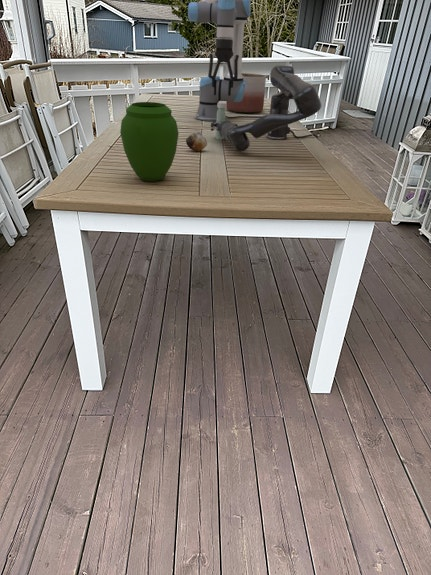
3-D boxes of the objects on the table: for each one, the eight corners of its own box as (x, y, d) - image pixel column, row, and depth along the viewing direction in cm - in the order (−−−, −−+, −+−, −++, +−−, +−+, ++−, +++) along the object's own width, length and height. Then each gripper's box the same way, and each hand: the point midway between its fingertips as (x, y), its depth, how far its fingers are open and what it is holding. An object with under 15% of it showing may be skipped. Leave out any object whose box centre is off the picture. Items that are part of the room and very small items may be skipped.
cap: (227, 107, 198) (227, 103, 197) (220, 108, 196) (220, 103, 195) (222, 106, 201) (222, 102, 200) (215, 106, 199) (215, 102, 198)
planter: (267, 114, 272) (271, 77, 261) (229, 113, 268) (232, 76, 257) (257, 108, 294) (260, 73, 282) (223, 107, 289) (224, 72, 278)
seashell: (206, 149, 186) (206, 130, 181) (207, 152, 181) (208, 133, 177) (185, 148, 184) (185, 130, 180) (186, 152, 180) (186, 133, 175)
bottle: (225, 138, 206) (227, 104, 197) (219, 139, 204) (220, 104, 195) (220, 137, 209) (222, 103, 200) (214, 138, 206) (215, 103, 198)
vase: (131, 189, 135) (125, 110, 122) (118, 172, 150) (112, 100, 137) (186, 184, 142) (187, 109, 129) (169, 168, 157) (167, 99, 144)
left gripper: (244, 39, 188) (240, 94, 200) (202, 37, 185) (201, 93, 197) (247, 40, 181) (243, 96, 194) (204, 37, 179) (202, 95, 191)
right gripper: (213, 139, 191) (205, 131, 205) (242, 139, 195) (232, 131, 209) (214, 122, 187) (205, 115, 201) (243, 122, 191) (233, 115, 205)
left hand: (222, 95), depth 195 cm, fingers open, 6 cm apart
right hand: (219, 123), depth 205 cm, fingers open, 5 cm apart
